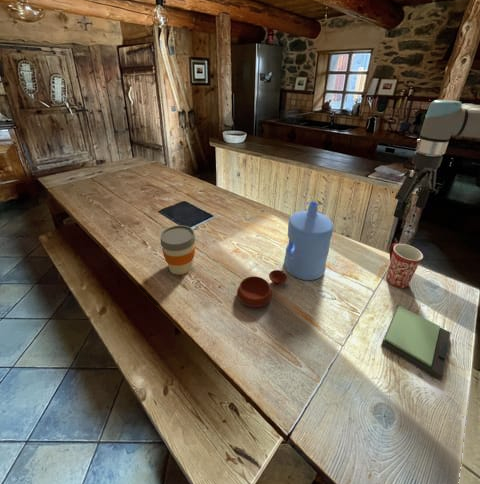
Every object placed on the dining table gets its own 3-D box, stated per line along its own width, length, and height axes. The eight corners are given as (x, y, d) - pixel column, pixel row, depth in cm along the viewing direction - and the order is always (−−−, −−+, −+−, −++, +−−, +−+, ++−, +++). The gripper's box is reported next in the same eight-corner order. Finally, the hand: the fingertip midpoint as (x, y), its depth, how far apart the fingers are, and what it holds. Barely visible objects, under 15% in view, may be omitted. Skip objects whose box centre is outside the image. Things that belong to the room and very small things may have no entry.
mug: (416, 290, 94) (429, 260, 88) (390, 289, 94) (401, 259, 88) (399, 266, 105) (408, 238, 99) (375, 265, 105) (384, 237, 100)
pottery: (230, 293, 91) (230, 284, 89) (272, 269, 102) (273, 260, 100) (251, 317, 83) (252, 307, 81) (295, 288, 94) (296, 279, 92)
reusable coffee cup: (201, 271, 101) (199, 239, 94) (168, 282, 96) (164, 248, 89) (191, 252, 111) (189, 221, 104) (161, 261, 106) (156, 229, 99)
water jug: (329, 263, 106) (342, 201, 94) (316, 287, 94) (329, 220, 82) (293, 249, 114) (301, 190, 102) (277, 270, 102) (283, 206, 90)
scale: (448, 337, 78) (451, 330, 77) (440, 380, 67) (444, 374, 66) (395, 310, 86) (398, 304, 85) (381, 345, 75) (383, 338, 74)
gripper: (435, 144, 91) (416, 199, 100) (394, 155, 79) (377, 216, 88) (461, 150, 85) (438, 207, 94) (420, 163, 73) (399, 227, 82)
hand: (408, 212), depth 91 cm, fingers open, 13 cm apart
